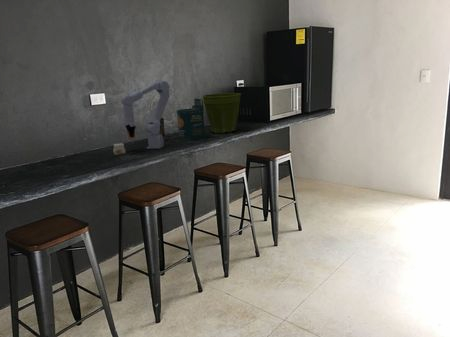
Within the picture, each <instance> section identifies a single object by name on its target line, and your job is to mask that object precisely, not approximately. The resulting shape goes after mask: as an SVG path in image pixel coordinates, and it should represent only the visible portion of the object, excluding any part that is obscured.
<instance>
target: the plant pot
mask: <svg viewBox="0 0 450 337" xmlns="http://www.w3.org/2000/svg"><path fill="white" fill-rule="evenodd" d="M241 96H242V93H239V92H229V93H228V92H225V93H224V92H221V93H212V94H204V95H202V100H203V105H204V108H205V112H206V116H207V119H208V120H207V121H208V123H209V126H210V129H211V132H212V133H213V132H214V134H226V133H225V132H229V133H233V132H232V131H234V132H236V130H237V123H238V117H239V113H240V112H239V111H240V102H241Z"/></svg>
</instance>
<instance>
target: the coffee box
mask: <svg viewBox="0 0 450 337" xmlns="http://www.w3.org/2000/svg"><path fill="white" fill-rule="evenodd" d="M164 119H165V118H164V117H161V119H160V124H161V125H160V131H159V134H162V136H163V142H164V141H166V130H165V129H166V128H165V120H164Z"/></svg>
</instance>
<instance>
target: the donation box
mask: <svg viewBox="0 0 450 337" xmlns="http://www.w3.org/2000/svg"><path fill="white" fill-rule="evenodd" d="M193 101H194V105H191V108H182V109H177V110H176V115H177V125H178V126H177V127H178V140H180V141H185V142H191V141H198V139H199V140H205V139H204V138H206V134H205V118H204V113H205V112H204V108H205V107H204V100H203V98H202V99H201V98H197V97H196V98H195V97H194V99H193Z"/></svg>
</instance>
